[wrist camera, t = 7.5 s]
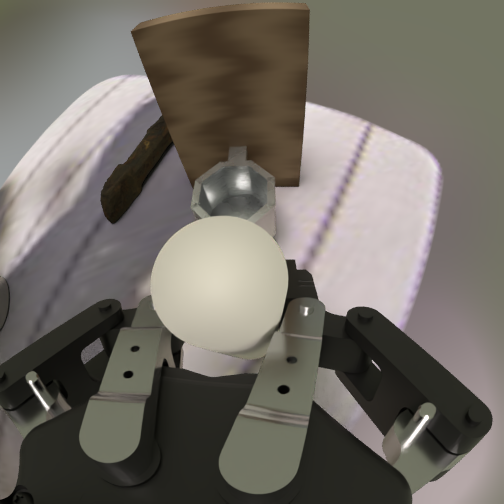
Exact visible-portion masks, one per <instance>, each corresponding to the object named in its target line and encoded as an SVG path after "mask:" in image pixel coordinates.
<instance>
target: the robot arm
mask: <svg viewBox="0 0 504 504" xmlns="http://www.w3.org/2000/svg"><path fill="white" fill-rule="evenodd" d="M286 265H287V269H288V289H287V294H286V299H285V304H284V308H283V313H282V317H281V321H280V326H279V332H277V331H275V332H274V334H273V337H272V340H271V342H270V345H269V348H268V350H267V353H266V355H265V358H264V361H263V363H262V366H261V368H260V371H259V373H258V374H247V373H245V374H238V375H230V376H221V377H208V376H205V375H201V374H198V373H195V372H192V371H189V370H185V369H183V348H182V346H183V344H184V341H182V340H181V339H179V338H178V337H176V336H175V335H174V334H173V333H171V332H170V331H169V330H168V329H167V328H166V326H165V325H164V324H163V323H162V321H161V320H160V318H159V316H158V314H157V312H156V310H155V307H154V304H153V301H152V296H151V295H149V296H147V297H145V298H143V299H142V300H141V301H140V303H139V306H138V308H135V309H127V310H122V307H121V303H120V302H119V301H118V300H115V299H106V300H102V301H99V302H97V303H96V304H94V305H92V306H91V307H89V308H87V309H86V310H84V311H83V312H81V313H79V314H78V315H76V316H75V317H73V318H71V319H70V320H68V321H67V322H65V323H64V324H62V325H60V326H59V327H57V328H56V329H54V330H53V331H51V332H50V333H48V334H46V335H45V336H43V337H42V338H40V339H39V340H37V341H36V342H34V343H33V344H31V345H30V346H28V347H27V348H25V349H24V350H22V351H21V352H19V353H18V354H16V355H15V356H13V357H12V358H10V359H9V360H7V361H6V362H5V363H3V364H2V365H0V407H1V408H2V409H3V411H4V412H5V413H6V414H7V416H8V417H9V418H10V419H11V420H12V422H13V423H14V424H15V425H16V427H17V429H18V430H19V432H20V433H21V435H22V436H23V438H24V440H23V442H22V445H21V449H20V464H19V474H18V479H17V484H16V487H15V489H14V491H13V493H12V494H11V495H10V496H8V497H7V498H4V499H2V500H0V504H412V494H413V493H415V492H416V491H418V490H419V489H420V488H422V487H423V486H424V485H425V484H427V483H428V482H431V481H436V480H438V479H439V478H441V477H442V476H443V475H444V474H446V473H447V472H448V471H449V470H450V469H451V468H452V467H454V466H455V465H456V464H457V463H458V462H459V461H460V460H461V459H462V458H463V457H464V456H465V455H466V454H468V453H469V452H470V451H471V450H472V448H474V447H475V445H477V443H478V442H479V441H480V440H481V439H482V438H483V437H484V436H485V435H486V434H487V433H488V432H489V430H490V429H491V426H492V414H491V412H490V410H489V408H488V407H487V406H486V405H485V404H484V403H483V402H482V401H481V400H480V399H478V397H476V396H475V395H474V394H473V393H472V392H471V391H470V390H469V389H467V387H465V386H464V385H463V384H462V383H461V382H460V381H459V380H458V379H457V378H456V377H454V376H453V375H452V374H451V373H450V372H449V371H448V370H446V369H445V368H444V367H443V366H442V365H441V364H440V363H439V362H437V361H436V360H435V359H434V358H433V357H432V356H431V355H429V354H428V353H427V352H426V351H425V350H424V349H422V348H421V347H420V346H419V345H418V344H416V343H415V342H414V341H413V340H412V339H411V338H409V337H408V336H407V335H406V334H405V333H404V332H402V331H401V330H400V329H399V328H398V327H396V326H395V325H394V324H393V323H392V322H390V321H389V320H388V319H387V318H386V317H384V316H383V315H382V314H381V313H379V312H378V311H377V310H375V309H372V308H369V307H355V308H352V309H350V310H349V311H348V312H347V315H346V317H345V316H339V315H334V314H331V313H329V312H327V311H325V305H324V304H323V303H322V302H321V301H319V300H318V296H317V292H316V289H315V285H314V282H313V277H312V275H311V274H310V273H309V272H308V271H307V270H297V269H296V263H295V260H286ZM8 305H9V290H8V285H7V283H6V281H5V279H4V278H2V277H1V276H0V329H1V328H2V326H3V324H4V322H5V319H6V316H7V311H8ZM98 338H100V340H101V343H102V345H103V348H104V350H103V351H101V352H100V353H99V354H98V355H96V356H95V357H94V358H92V359H91V360H90V361H88V362H87V363H86V364H83V362H82V360H81V352H82V350H83V349H84V348H85V347H87V346H88V345H89V344H91V343H92V342H94V341H95V340H96V339H98ZM372 360H373V361H374V362H375V363H376V364H377V365H378V366H379V368H380V370H381V371H380V370H379V369H378V368H377V367H376V366H375V365H374V364H373V363H372V362H371V361H372ZM318 367H322V368H327V369H332V370H335V373H336V375H337V377H338V378H339V379H340V381H341V382H342V383H343V384H344V386H345V387H346V388H347V390H348V391H349V392H350V393H351V395H352V396H353V397H354V398H355V400H356V401H357V402H358V404H359V405H360V406H361V407H362V409H363V410H364V411H365V412H366V414H367V415H368V416H369V417H370V419H371V420H372V421H373V423H374V424H375V425H376V426H377V428H378V429H379V430H380V431H381V433H382V434H383V435H384V436H385V437H384V439H383V442H382V449H383V452H384V454H385V456H386V460H387V461H385V460H384V459H383V458H382V457H380V456H379V455H378V454H376V453H375V452H374V451H372V450H371V449H370V448H369V447H368V446H366V445H365V444H364V443H363V442H361V441H360V440H359V439H358V438H356V437H355V436H354V435H353V434H351V433H350V432H349V431H348V430H347V429H345V428H344V427H343V426H342V425H341V424H339V423H338V422H337V421H336V420H335V419H334V418H332V417H331V416H330V415H329V414H328V413H327V412H326V411H324V410H323V409H322V408H321V407H320V406H319V405H318V404H316V403H315V402H314V401H313V395H314V389H315V383H316V377H317V371H318Z"/></svg>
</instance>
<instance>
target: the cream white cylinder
mask: <svg viewBox="0 0 504 504" xmlns="http://www.w3.org/2000/svg"><path fill="white" fill-rule="evenodd" d="M287 289H288V269H287V265H286V260H285V258H284V255H283V253H282V251H281V249H280V247H279V245H278V244H277V243H276V241H275V240H274V239H273V238H272V237H271V235H270V234H269V233H268V232H266V231H265V230H264V229H263V228H261V227H260V226H258V225H256V224H255V223H252V222H250V221H248V220H245V219H242V218H238V217H233V216H213V217H207V218H203V219H200V220H197V221H195V222H192V223H190V224H188V225H187V226H185V227H183V228H182V229H180V230H179V231H178V232H176V233H175V234H174V235H173V236H172V237H171V238H170V239H169V240H168V241H167V242H166V244H165V245H164V246H163V248H162V249H161V251H160V252H159V254H158V256H157V259H156V261H155V264H154V267H153V270H152V275H151V296H152V301H153V304H154V307H155V310H156V312H157V314H158V316H159V318H160V320H161V321H162V323H163V324H164V325H165V326H166V328H167V329H168V330H169V331H170V332H171V333H173V334H174V335H175V336H176V337H178V338H179V339H181V340H182V341H184V342H186V343H188V344H191V345H193V346H196V347H200V348H203V349H207V350H211V351H214V352H218V353H222V354H226V355H230V356H234V357H238V358H242V359H246V360H254V359H258V358H261V357H263V356H265V355H266V353H267V350H268V348H269V345H270V342H271V340H272V337H273V334H274V332H275V331H277V332H278V330H279V326H280V321H281V317H282V313H283V308H284V304H285V299H286V294H287Z"/></svg>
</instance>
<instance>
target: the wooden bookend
mask: <svg viewBox="0 0 504 504" xmlns="http://www.w3.org/2000/svg"><path fill="white" fill-rule="evenodd" d="M309 13H310V10H309V8H308V6H307V5H306V3H250V4H236V5H226V6H218V7H210V8H203V9H197V10H192V11H186V12H181V13H177V14H172V15H168V16H163V17H160V18H156V19H152V20H148V21H145V22H141V23H140V24H138V25H137V26H136V27H135V28H134V29H133V30H132V31H131V34H132V37H133V39H134V42H135V45H136V47H137V50H138V53H139V56H140V58H141V61H142V64H143V66H144V69H145V72H146V74H147V77H148V79H149V82H150V85H151V87H152V90H153V92H154V95H155V97H156V100H157V103H158V105H159V108H160V110H161V113H162V115H163V118H164V120H165V123H166V125H167V128H168V130H169V132H170V135H171V137H172V140H173V142H174V145H175V147H176V150H177V152H178V154H179V157H180V159H181V162H182V164H183V166H184V169H185V171H186V173H187V176H188V178H189V181H190V183H191V185H192V188H193V189H194V185H195V180H196V179H198V178H199V177H200V176H202V175H203V174H204V173H206V172H207V171H208V170H210V169H211V168H212V167H214V166H215V165H216V164H218V163H219V162H225V161H228V156H229V147H243V146H247V161H250V160H252V161H253V162H254V163H256V164H257V165H259V166H260V167H261V168H263V169H264V170H265V171H267V172H268V173H269V174H271V175H272V176H273V177H275V187H299V177H300V167H301V156H302V144H303V132H304V119H305V104H306V88H307V70H308V47H309Z"/></svg>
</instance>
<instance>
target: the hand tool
mask: <svg viewBox="0 0 504 504" xmlns="http://www.w3.org/2000/svg"><path fill="white" fill-rule="evenodd" d="M171 142H172V137H171V135H170V132H169V130H168V128H167V125H166V123H165V120H164V118H163V115H162V116H161V117H160V118H159V120H158V121H157V122H156V123H155V124H154V125H152V126H151V127H150V128H149V129H148V130H147V134H146V135H145V137H144V138H143V140H142V141H141V142H140V144H139V145H138V146H137V147H136V149H135V150H134V152H133V153H132V154H131V155H130V157H129V158H128V160H127V161H126V162H125V163H124V164H118V166H117V167H116V168H115V169H114V171H113V173H112V174H111V176H110V177H109V178H108V179H107V182H105V184H104V186H103V190H102V191H101V205H102V208H103V212H104V215H105V217H106V218H107V219H108V220H109V221H110V222H111V223H114V222H115V221H117V220H118V219H119V218H120V217H121V216H122V215H123V213H124V212H125V211H126V210H127V209H128V208H129V206H130V205H131V203H132V202H133V201H134V200H135V198H136V197H137V196H138V195H139V194H140V192H141V191H142V187H141V186H142V183H143V181H144V179H145V178H146V176H147V175H148V173H149V172H150V171H151V169H152V168H153V167H154V165H155V164H156V163H157V162H158V161H159V159H160V157H161V155H162V154H163V152H164V151H165V149H166V148H167V147H168V145H169V144H170V143H171Z"/></svg>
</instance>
